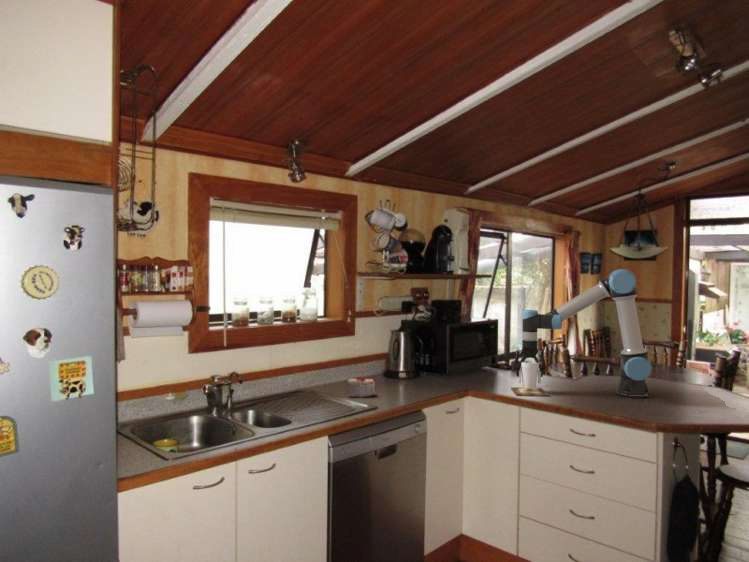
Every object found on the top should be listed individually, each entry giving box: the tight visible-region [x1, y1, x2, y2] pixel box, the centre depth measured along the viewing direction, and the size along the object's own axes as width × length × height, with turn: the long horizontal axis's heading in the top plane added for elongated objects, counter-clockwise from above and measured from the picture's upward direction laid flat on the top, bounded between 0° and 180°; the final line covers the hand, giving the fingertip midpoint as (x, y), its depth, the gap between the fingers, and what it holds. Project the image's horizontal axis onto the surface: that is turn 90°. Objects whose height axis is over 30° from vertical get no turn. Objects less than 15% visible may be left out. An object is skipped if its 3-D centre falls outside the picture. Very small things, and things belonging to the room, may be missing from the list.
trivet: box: [510, 386, 550, 398], centre depth 279 cm, size 16×16×1 cm
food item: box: [346, 375, 376, 398], centre depth 270 cm, size 14×8×10 cm, turn 97°
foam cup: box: [520, 359, 540, 388], centre depth 279 cm, size 10×9×13 cm
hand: (529, 382), depth 279 cm, fingers closed on foam cup, 9 cm apart
